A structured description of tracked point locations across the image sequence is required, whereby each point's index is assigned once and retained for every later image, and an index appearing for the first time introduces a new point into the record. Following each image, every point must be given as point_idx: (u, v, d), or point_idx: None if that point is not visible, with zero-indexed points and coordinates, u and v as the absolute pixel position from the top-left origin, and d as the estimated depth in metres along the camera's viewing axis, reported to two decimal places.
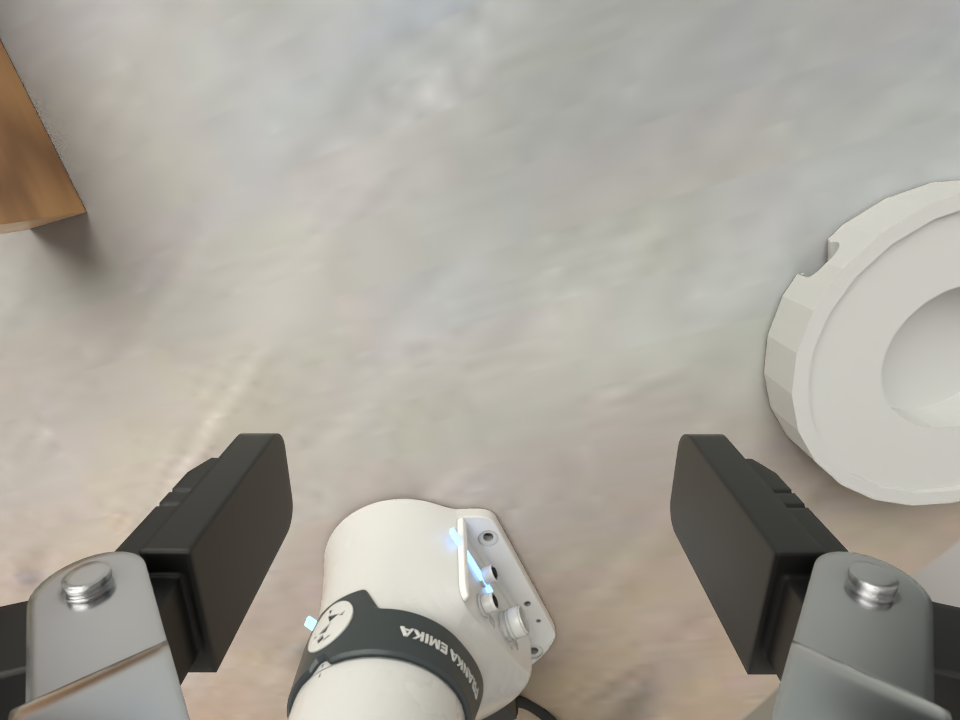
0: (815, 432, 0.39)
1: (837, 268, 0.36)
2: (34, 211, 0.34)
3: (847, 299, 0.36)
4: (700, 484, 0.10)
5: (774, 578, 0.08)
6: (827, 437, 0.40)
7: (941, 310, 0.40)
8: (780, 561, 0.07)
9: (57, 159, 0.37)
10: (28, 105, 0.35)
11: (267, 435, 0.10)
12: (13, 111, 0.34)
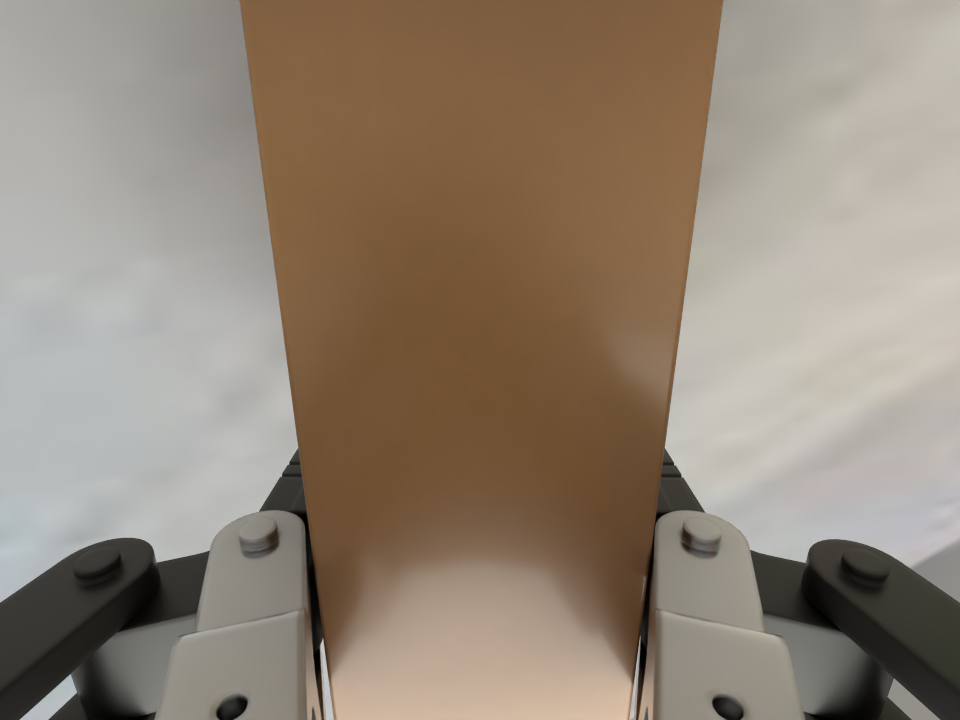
0: None
1: None
2: None
3: None
4: None
5: None
6: None
7: None
8: None
9: None
10: None
11: None
12: None
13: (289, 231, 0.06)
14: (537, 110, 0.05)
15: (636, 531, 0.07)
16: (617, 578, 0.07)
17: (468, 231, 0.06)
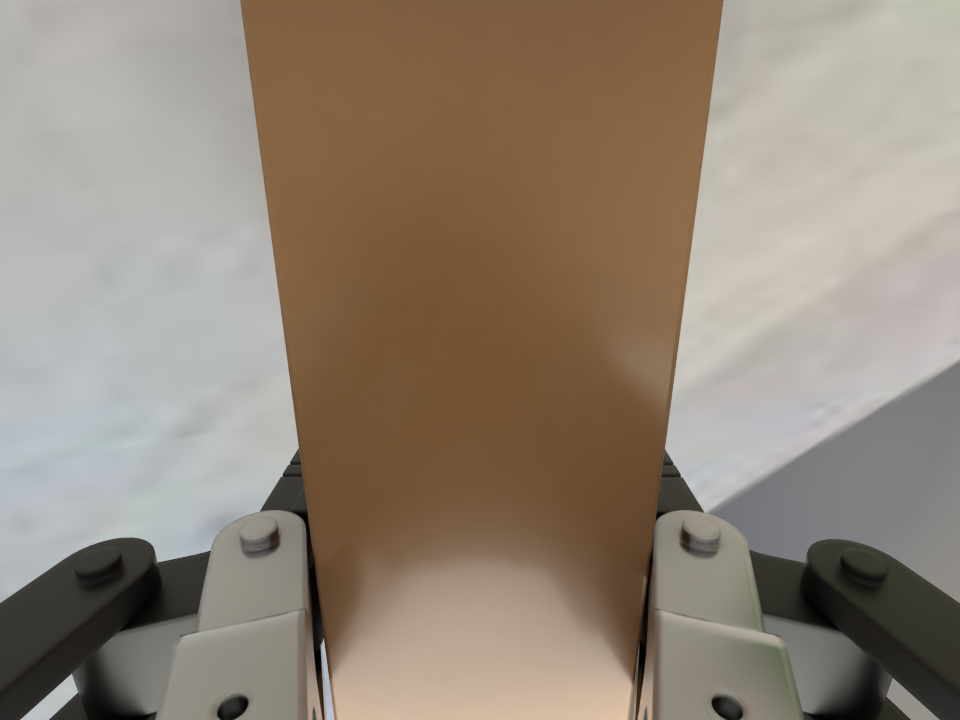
0: None
1: None
2: None
3: None
4: None
5: None
6: None
7: None
8: None
9: None
10: None
11: None
12: None
13: (289, 230, 0.06)
14: (538, 109, 0.05)
15: (636, 530, 0.07)
16: (618, 577, 0.07)
17: (468, 230, 0.06)
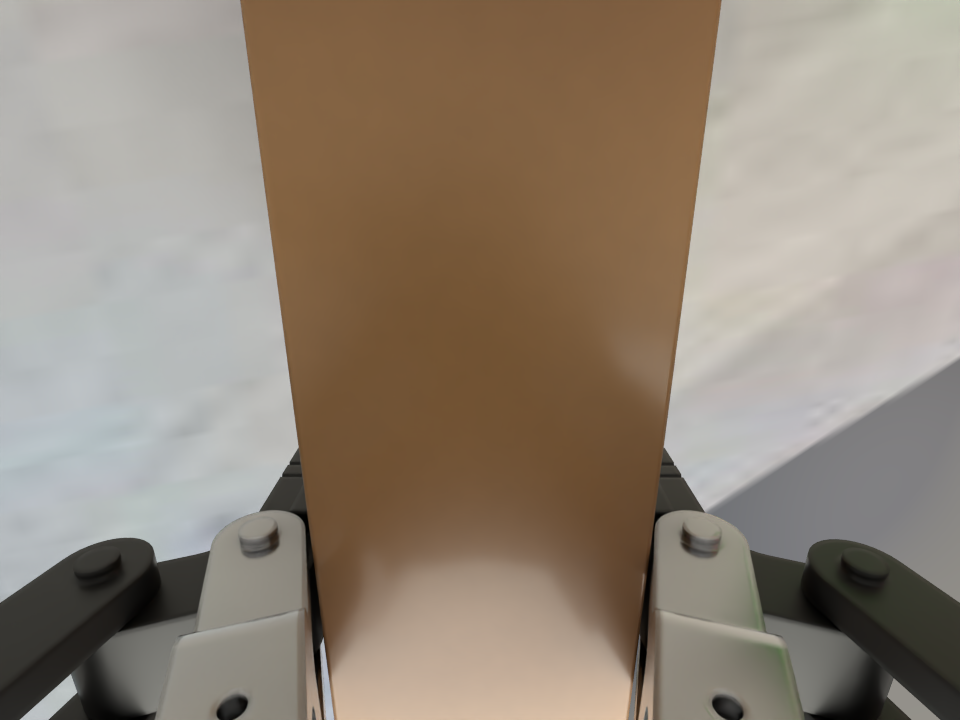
0: None
1: None
2: None
3: None
4: None
5: None
6: None
7: None
8: None
9: None
10: None
11: None
12: None
13: (289, 229, 0.06)
14: (537, 108, 0.05)
15: (635, 528, 0.07)
16: (617, 575, 0.07)
17: (467, 230, 0.06)
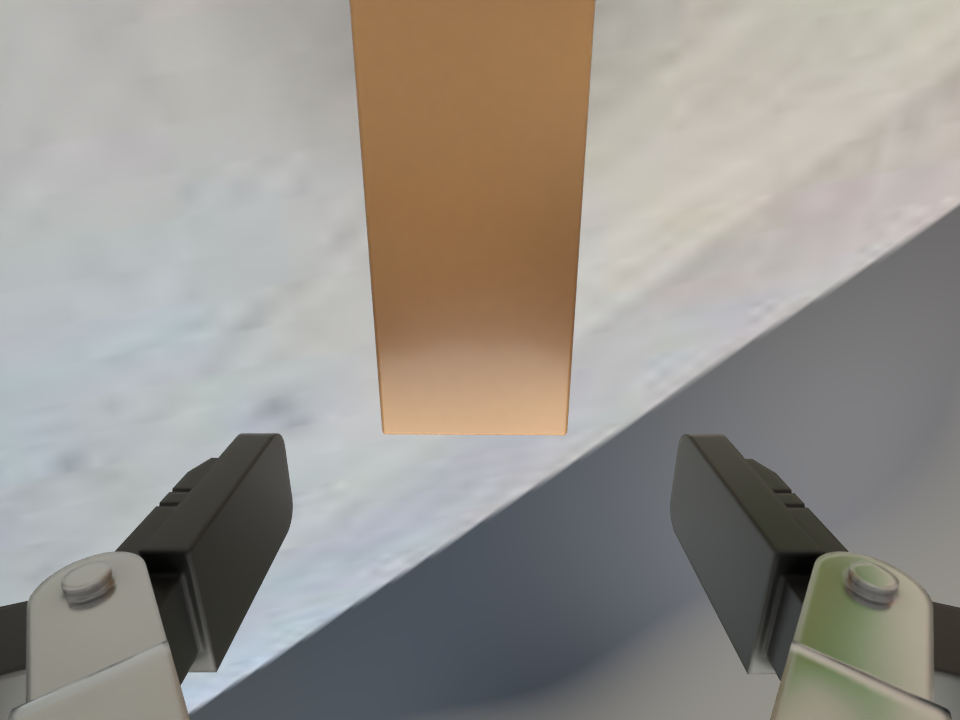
0: None
1: None
2: None
3: None
4: (700, 484, 0.10)
5: (774, 578, 0.08)
6: None
7: None
8: (780, 561, 0.07)
9: None
10: None
11: (267, 435, 0.10)
12: None
13: (364, 34, 0.10)
14: None
15: (567, 240, 0.12)
16: (558, 276, 0.12)
17: (464, 34, 0.10)
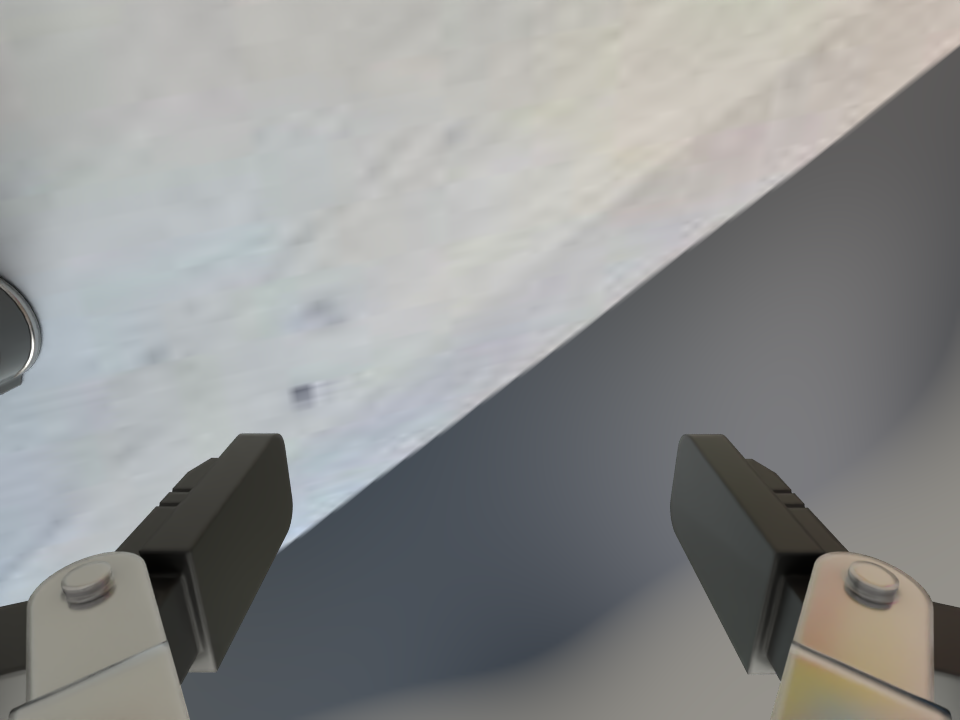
0: None
1: None
2: None
3: None
4: (700, 484, 0.10)
5: (774, 578, 0.08)
6: None
7: None
8: (780, 561, 0.07)
9: None
10: None
11: (267, 435, 0.10)
12: None
13: None
14: None
15: None
16: None
17: None
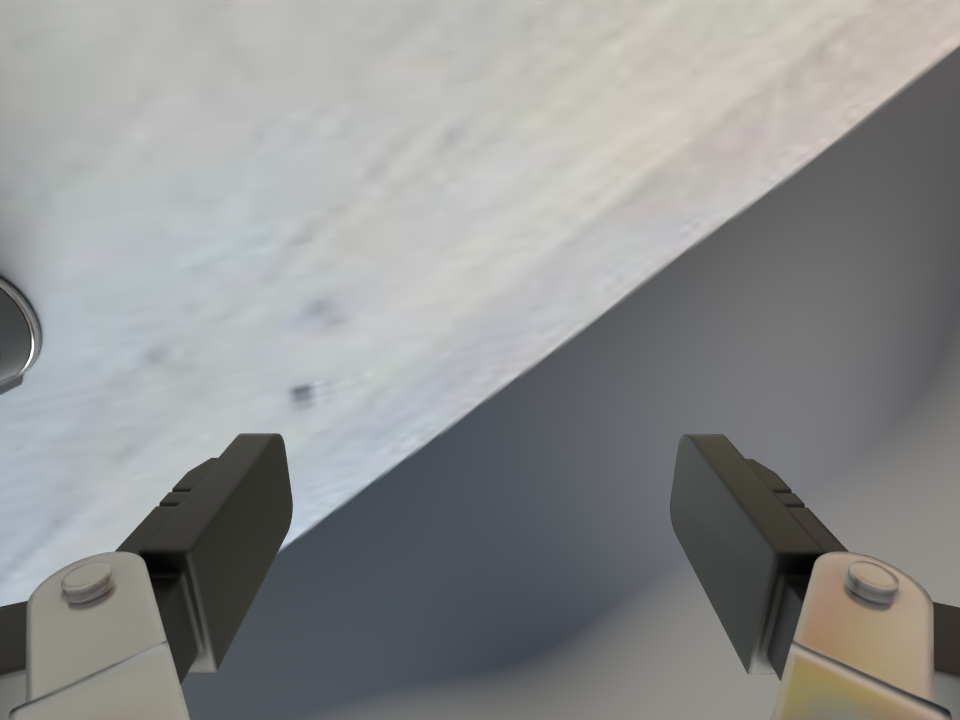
0: None
1: None
2: None
3: None
4: (700, 484, 0.10)
5: (774, 578, 0.08)
6: None
7: None
8: (780, 561, 0.07)
9: None
10: None
11: (267, 435, 0.10)
12: None
13: None
14: None
15: None
16: None
17: None
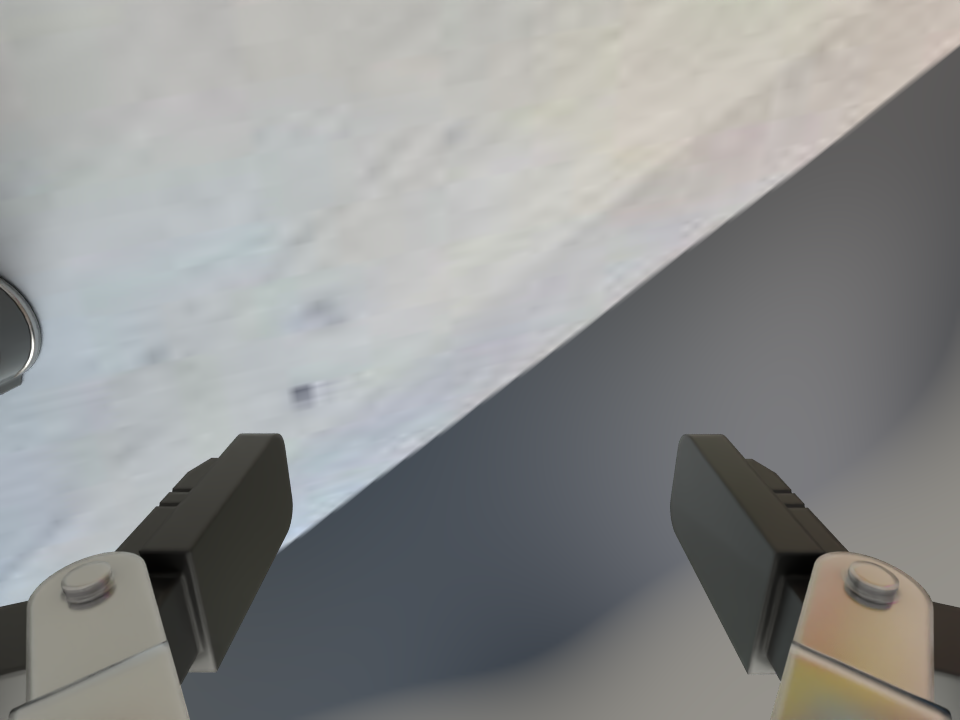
0: None
1: None
2: None
3: None
4: (700, 484, 0.10)
5: (774, 578, 0.08)
6: None
7: None
8: (780, 561, 0.07)
9: None
10: None
11: (267, 435, 0.10)
12: None
13: None
14: None
15: None
16: None
17: None
